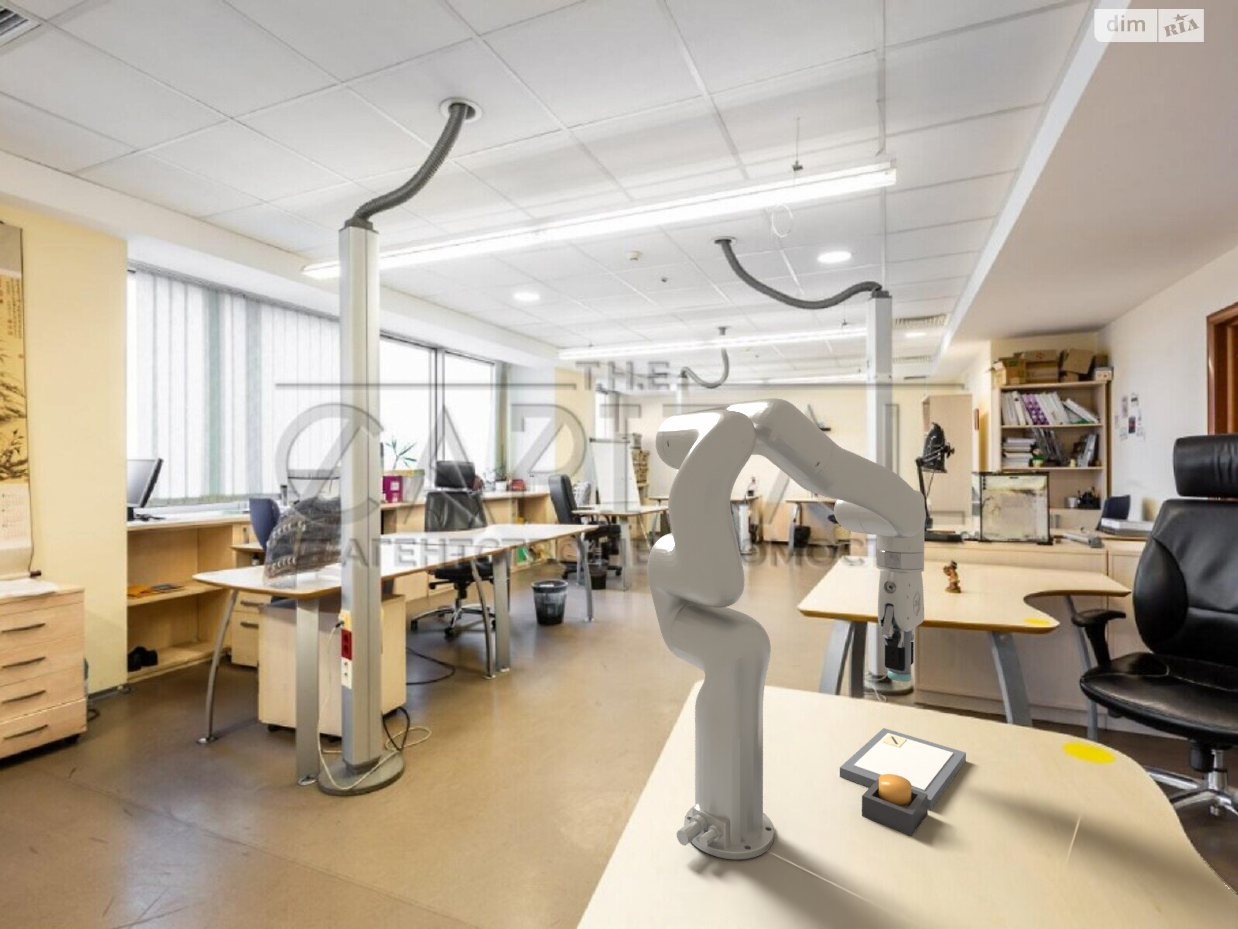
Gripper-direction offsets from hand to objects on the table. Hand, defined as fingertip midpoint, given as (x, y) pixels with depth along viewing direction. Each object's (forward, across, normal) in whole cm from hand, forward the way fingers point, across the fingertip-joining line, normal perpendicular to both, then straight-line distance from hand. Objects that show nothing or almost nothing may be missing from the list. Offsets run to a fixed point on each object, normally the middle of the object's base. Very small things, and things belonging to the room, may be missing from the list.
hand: (899, 664), depth 105 cm
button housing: (+17, -16, -5) cm, 24 cm away
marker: (+2, 0, 0) cm, 2 cm away
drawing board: (+17, -2, -1) cm, 17 cm away
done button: (+15, -17, -5) cm, 23 cm away
